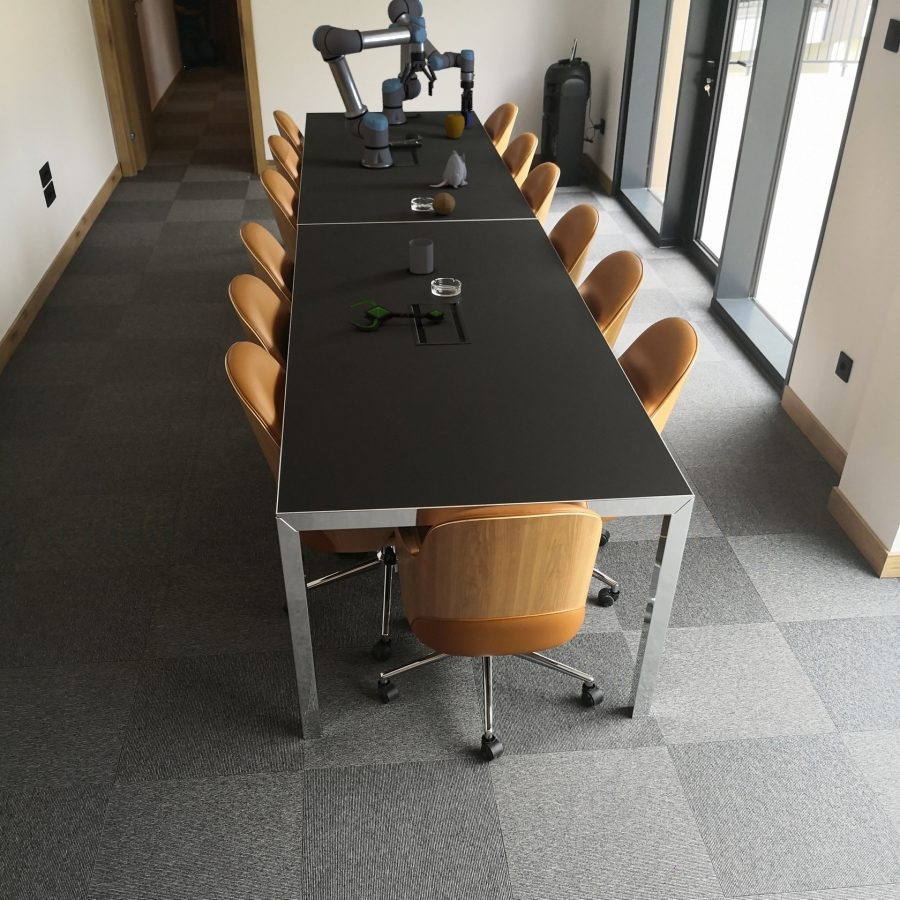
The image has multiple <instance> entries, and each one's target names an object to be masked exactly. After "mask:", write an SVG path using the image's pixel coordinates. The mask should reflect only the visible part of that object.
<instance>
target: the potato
mask: <svg viewBox="0 0 900 900" xmlns="http://www.w3.org/2000/svg"><path fill="white" fill-rule="evenodd" d="M455 206H456V200H455V198H454V196H452V195H451V194H449V193H448V192H439V193H437V194H436V195H435V197H434V198H433V200H432V201H431V207H432V209H433V210H434V212H436V213H437V214H439V215H441V216H442V215H449V214H450V213H452V212H453V211H454V209H455Z"/></svg>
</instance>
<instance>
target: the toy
mask: <svg viewBox="0 0 900 900" xmlns="http://www.w3.org/2000/svg"><path fill="white" fill-rule="evenodd" d="M466 178H467V168H466V156H465V153H463V154H462V155H459V154H458V153H457V151H456V150H455V149H453V150H452V153H451V155H450V156H449V158H448V161H447V163H446V166H445V170H444V171H443V177H442V179H443V181H442V182H441V183H439V184H436V185H435V184H433V185H432V184H430V185H428V186H429V187H434V188H440V187H443V186H446V187H448V186H449V185H451V186H453V188H455V189H459V187H458V186H461V187H462V186H467V185H468V182H467V181H465V180H466Z"/></svg>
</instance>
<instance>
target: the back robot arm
mask: <svg viewBox="0 0 900 900" xmlns="http://www.w3.org/2000/svg"><path fill="white" fill-rule="evenodd" d="M423 9H424V7H423V3H422V2H421V1H420V0H391V1H390V2H389V4H388V6H387V16H388V19H389V21H390V22H391V24H393V23H405V22H409V21H410V17H414V16H420V17H423V12H424V10H423ZM425 44H426V50H425V51H424V52H425V53H426V59H425V60H426V61H431V65H432V68H433V70H434V72H438V71H442V70H447V69H452V68H456V69H460V71H459V72H460V83H459V84H460V85H459V86H460V89H463V90H462V93H461V94H460V114H461V115H462V116H463V117H464V120H465V125H467V111H472V112H473V110H474V109H473V108H474V107H473V105H474V103H473V102H474V101H473V100H474V99H473V95H474V90H473V89H474V88H475V81H474V80H475V76H476V75H475V60H476V59H475V51H474V50H473V49H461V50H460V52H453V51H445V52H443V53H442V54H441V52H440V51H439V50H438V49H437V48H436V46H434V44H432V42H431V41H430V40H429V38H428V37H427V38H426V40H425ZM399 46H400V49H399V50H400V51H399V52H400V53H399V54H400V56H399V58H400V60H399V61H400V64H399V65H400V66H399V67H400V68H399V73H398V74H397V77H391V78H387V79H385V80H383V81H382V83H381V99H382V100H381V101H382V102H381V103H382V111H381V114H382V115H384V116H386V118H387V121H388V126H400V125H405V124H407V119H415V118H420V117H421V116H422V114H421V113H419V112H417V115H409V116H408V115H406V114H405V111H404V102H407V101H412V100H413V99H417V97H419V96H420V94H421V92H422V83H421V81H420V79H419V78H418V76H419V75H418V74H417V72H415V73H414V74H413V76H412V77H411V79H410V81H409V82H408V84H407V85H409V99H407V98H405V91H404V85H403V84H402V83H400V80H401V77H402V74H403V71H404V69H405V63H411V52H412V51H411V50H410V44H403V45H399ZM411 68H412V67H411V66H410V68H409V71H408V74H409V72H410V69H411ZM408 74H407V75H408ZM418 113H419V114H418ZM419 115H420V116H419Z"/></svg>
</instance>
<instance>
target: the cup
mask: <svg viewBox="0 0 900 900" xmlns="http://www.w3.org/2000/svg"><path fill="white" fill-rule="evenodd" d="M408 253H409V272H411V273H412V274H416V275H426V274H430V273H432V272H434V241H433V240H431V239H428V238H422V237H421V238H420V237H419V238H414V239H411V240H410V241H409V242H408Z"/></svg>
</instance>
